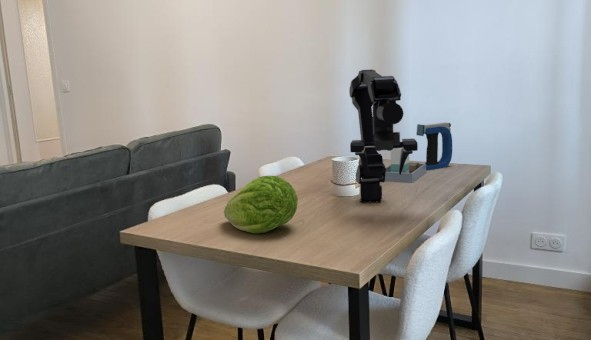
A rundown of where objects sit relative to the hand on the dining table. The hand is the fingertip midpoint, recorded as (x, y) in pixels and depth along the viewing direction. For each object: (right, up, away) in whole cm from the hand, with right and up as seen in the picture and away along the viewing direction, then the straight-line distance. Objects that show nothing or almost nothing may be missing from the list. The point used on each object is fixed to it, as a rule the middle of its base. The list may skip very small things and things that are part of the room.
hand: (383, 174), depth 147 cm
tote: (+16, -2, +50) cm, 53 cm away
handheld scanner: (+32, +1, +63) cm, 71 cm away
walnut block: (+19, 0, +55) cm, 58 cm away
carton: (+14, -2, +47) cm, 49 cm away
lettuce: (-36, -15, -4) cm, 39 cm away
